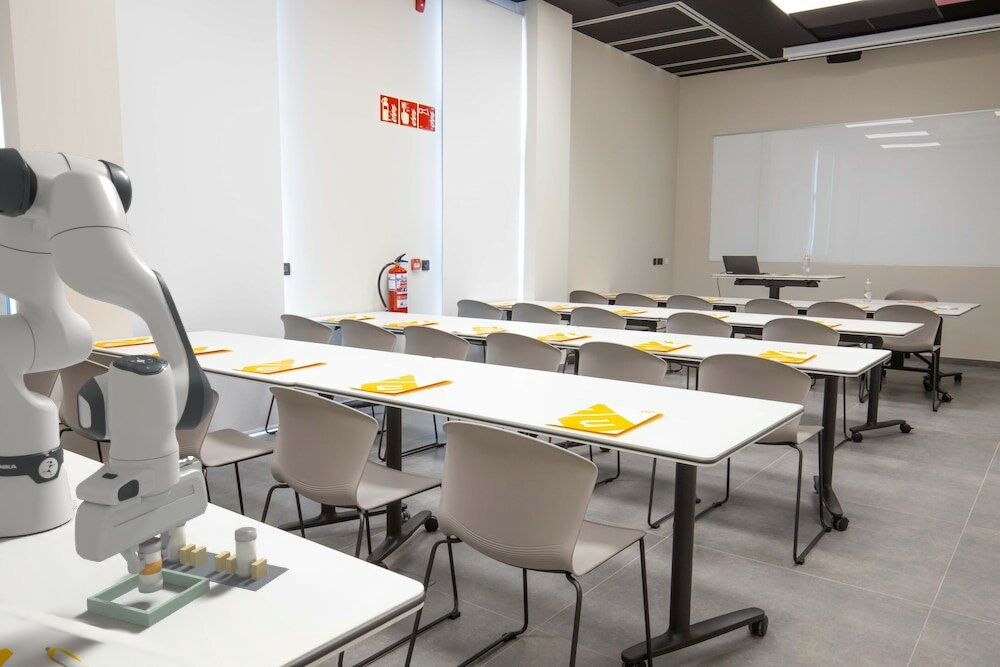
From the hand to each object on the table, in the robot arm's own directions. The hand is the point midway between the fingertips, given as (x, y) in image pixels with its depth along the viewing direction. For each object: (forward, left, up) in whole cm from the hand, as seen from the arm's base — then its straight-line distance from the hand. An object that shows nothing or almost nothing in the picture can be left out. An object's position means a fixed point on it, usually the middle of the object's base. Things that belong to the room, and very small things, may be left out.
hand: (149, 565), depth 103 cm
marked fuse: (0, 0, -3) cm, 3 cm away
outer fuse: (+7, +12, -5) cm, 15 cm away
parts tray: (0, 0, -6) cm, 6 cm away
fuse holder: (0, +12, -6) cm, 14 cm away
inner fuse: (-7, +12, -5) cm, 15 cm away
